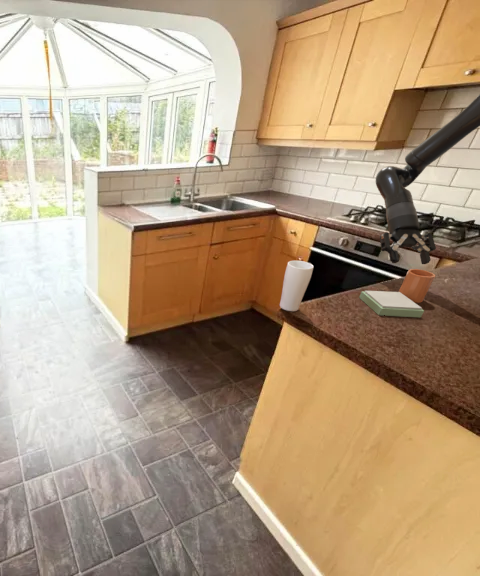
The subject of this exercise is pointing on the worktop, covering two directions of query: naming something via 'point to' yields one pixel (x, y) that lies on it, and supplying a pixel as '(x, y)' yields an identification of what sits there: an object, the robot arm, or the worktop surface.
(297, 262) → the drinking glass
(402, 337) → the worktop surface
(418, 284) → the cup
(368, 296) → the scale
